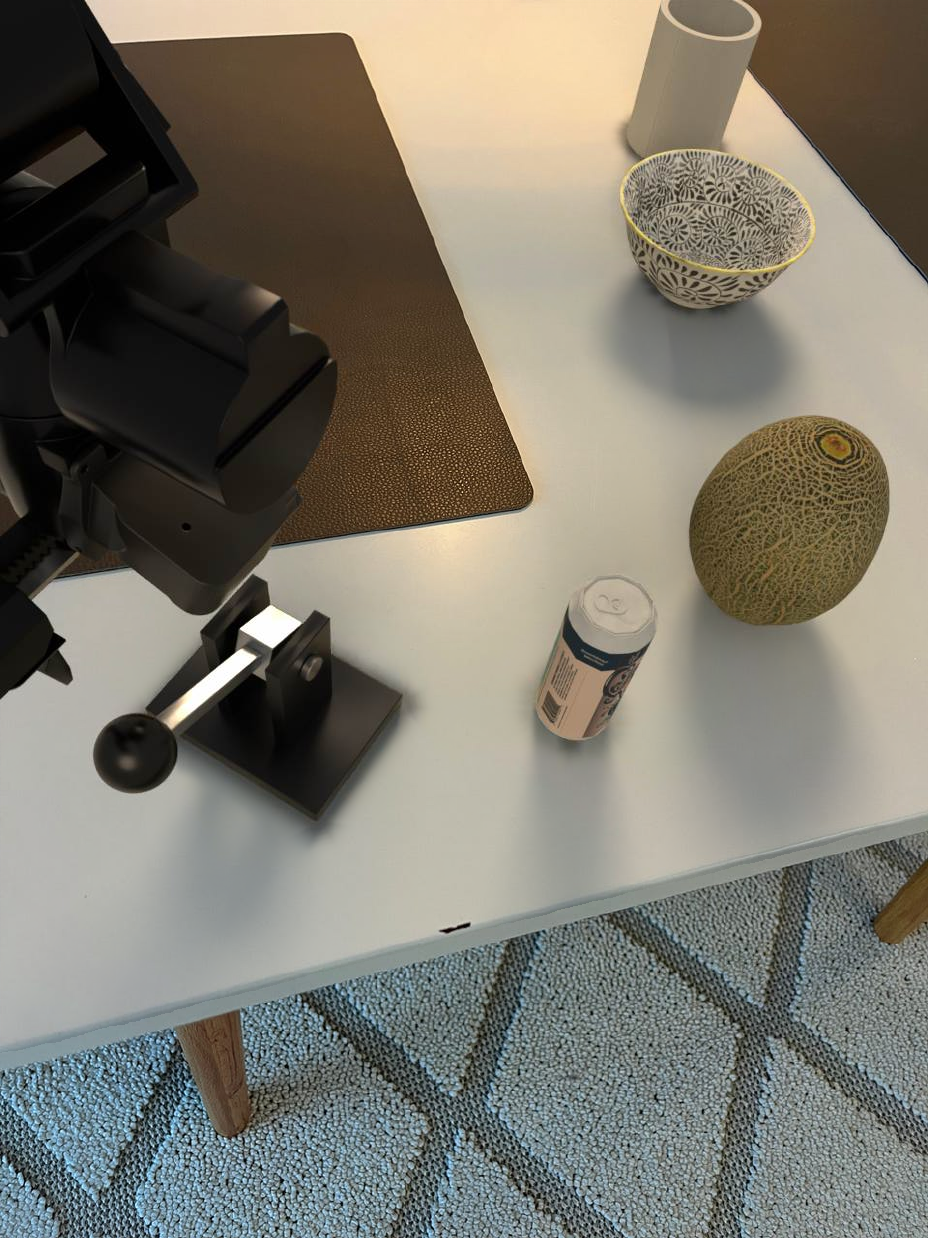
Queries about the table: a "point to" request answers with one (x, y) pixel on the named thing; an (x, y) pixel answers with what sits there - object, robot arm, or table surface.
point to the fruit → (789, 520)
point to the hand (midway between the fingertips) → (131, 607)
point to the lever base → (284, 708)
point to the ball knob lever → (185, 709)
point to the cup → (692, 75)
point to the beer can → (595, 655)
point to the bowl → (712, 225)
